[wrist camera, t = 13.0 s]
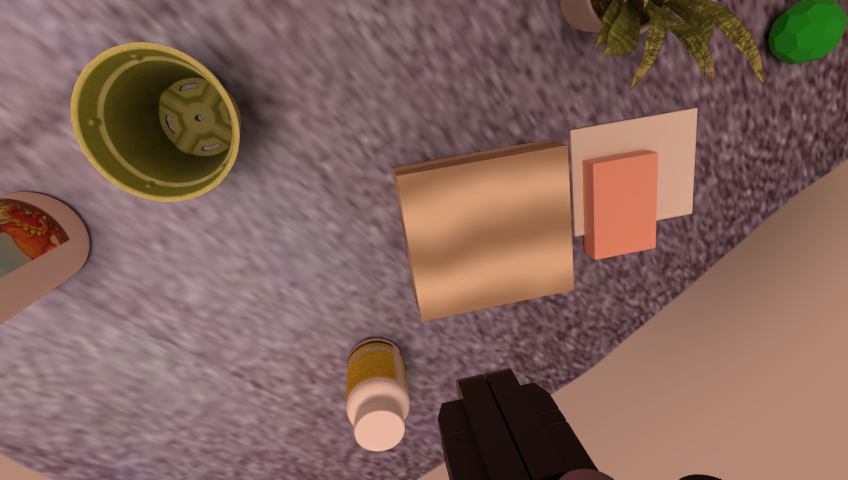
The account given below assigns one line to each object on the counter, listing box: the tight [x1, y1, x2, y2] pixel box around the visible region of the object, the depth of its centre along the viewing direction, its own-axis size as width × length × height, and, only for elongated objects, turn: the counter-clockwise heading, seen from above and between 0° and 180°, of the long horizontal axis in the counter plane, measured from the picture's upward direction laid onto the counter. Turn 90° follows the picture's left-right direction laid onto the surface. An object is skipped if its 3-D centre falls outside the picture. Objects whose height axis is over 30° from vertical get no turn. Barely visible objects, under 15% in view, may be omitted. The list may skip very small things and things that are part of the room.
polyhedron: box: [768, 0, 848, 64], centre depth 38 cm, size 5×5×5 cm
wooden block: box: [392, 140, 574, 322], centre depth 40 cm, size 13×14×4 cm
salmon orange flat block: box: [582, 149, 658, 260], centre depth 42 cm, size 9×6×2 cm, turn 9°
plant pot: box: [71, 42, 241, 202], centre depth 32 cm, size 9×9×9 cm
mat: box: [569, 108, 697, 236], centre depth 42 cm, size 10×12×1 cm
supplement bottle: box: [346, 338, 410, 451], centre depth 40 cm, size 5×5×10 cm
